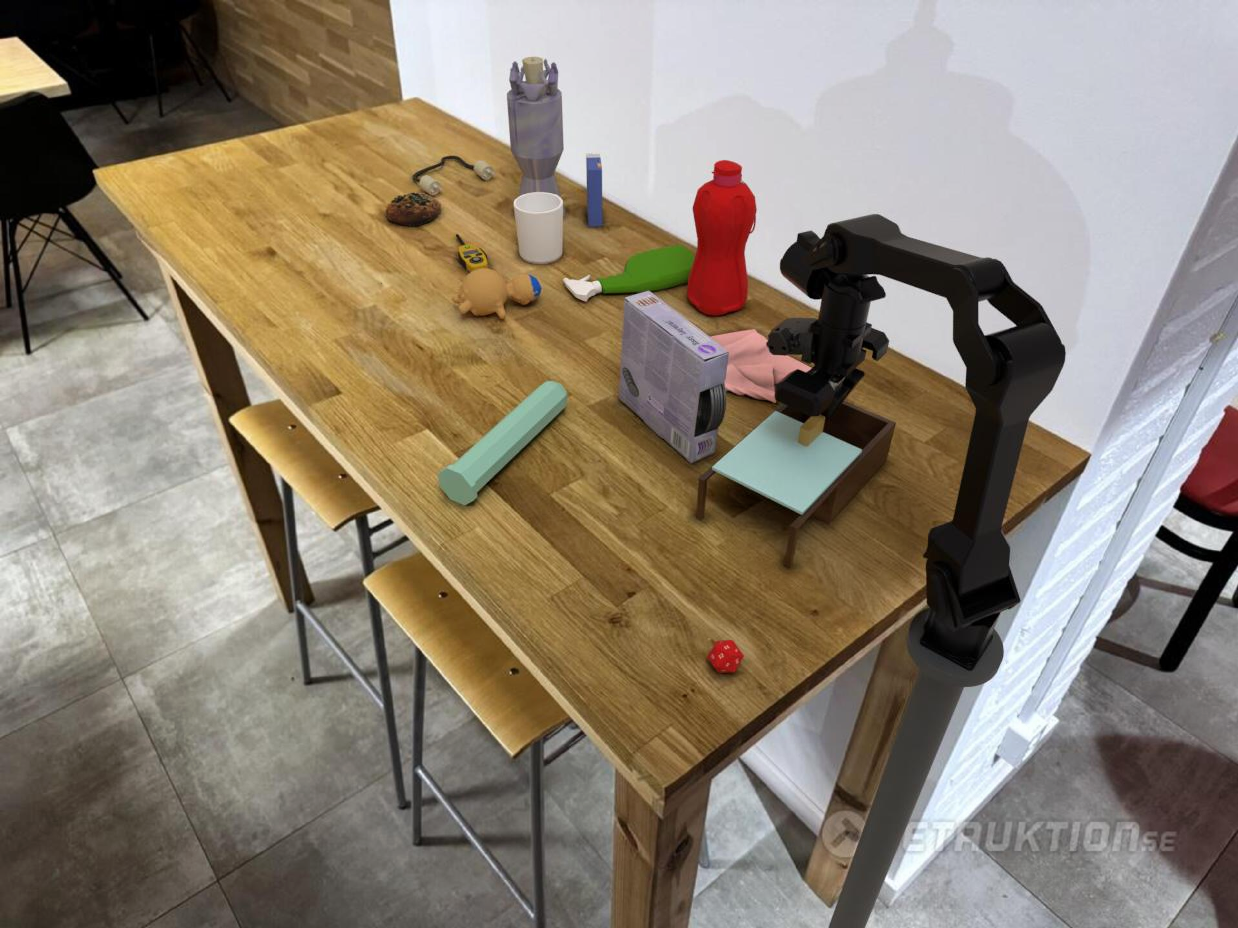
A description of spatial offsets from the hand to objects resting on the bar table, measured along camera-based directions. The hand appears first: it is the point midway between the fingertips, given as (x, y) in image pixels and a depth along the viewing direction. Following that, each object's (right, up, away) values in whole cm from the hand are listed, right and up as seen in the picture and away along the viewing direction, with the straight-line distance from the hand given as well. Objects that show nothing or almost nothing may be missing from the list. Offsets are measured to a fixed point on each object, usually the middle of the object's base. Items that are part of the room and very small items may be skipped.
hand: (823, 420), depth 121 cm
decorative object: (-43, +45, +66) cm, 91 cm away
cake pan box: (-20, -1, +13) cm, 23 cm away
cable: (-64, +56, +78) cm, 115 cm away
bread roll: (-68, +44, +65) cm, 104 cm away
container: (-42, -4, +9) cm, 43 cm away
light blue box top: (-5, -5, -4) cm, 9 cm away
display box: (-3, -9, +3) cm, 10 cm away
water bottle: (-9, +22, +39) cm, 46 cm away
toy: (-47, +21, +37) cm, 64 cm away
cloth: (-7, +9, +25) cm, 27 cm away
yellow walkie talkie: (-55, +33, +52) cm, 83 cm away
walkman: (-32, +43, +64) cm, 84 cm away
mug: (-41, +34, +53) cm, 75 cm away
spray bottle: (-24, +27, +45) cm, 57 cm away
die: (-15, -28, -19) cm, 37 cm away
